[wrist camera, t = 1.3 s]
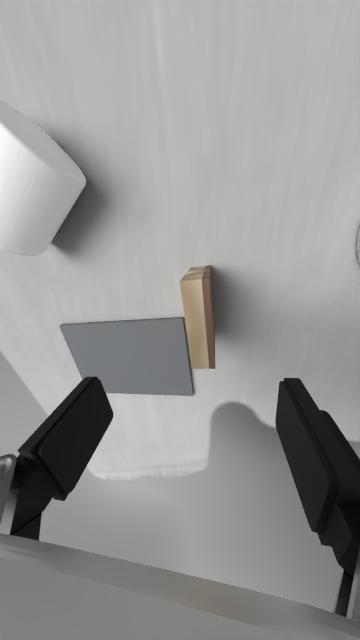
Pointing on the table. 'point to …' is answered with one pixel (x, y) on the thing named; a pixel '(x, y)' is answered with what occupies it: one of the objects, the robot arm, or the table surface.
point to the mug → (33, 184)
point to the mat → (133, 355)
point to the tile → (199, 316)
